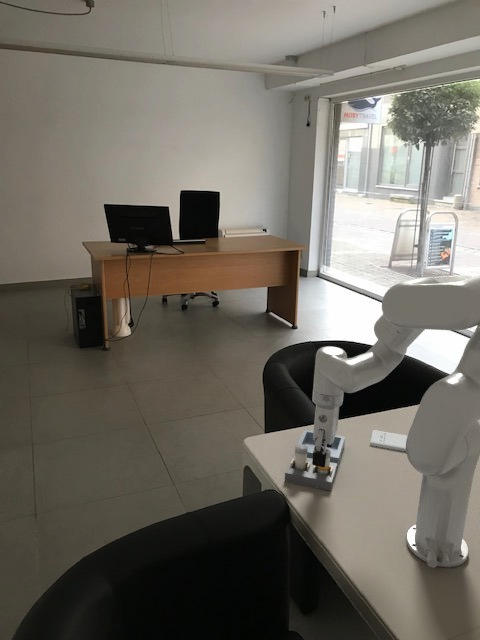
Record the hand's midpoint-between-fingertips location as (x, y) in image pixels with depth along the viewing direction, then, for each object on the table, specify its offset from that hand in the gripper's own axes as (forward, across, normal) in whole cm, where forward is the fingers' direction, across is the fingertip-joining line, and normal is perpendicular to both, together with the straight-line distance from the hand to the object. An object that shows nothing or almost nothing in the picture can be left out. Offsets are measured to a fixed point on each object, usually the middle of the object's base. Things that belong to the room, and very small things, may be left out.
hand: (322, 455), depth 136 cm
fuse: (+7, 0, +5) cm, 9 cm away
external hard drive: (+7, +25, -17) cm, 31 cm away
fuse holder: (+7, 0, +2) cm, 7 cm away
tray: (+7, +12, +2) cm, 14 cm away
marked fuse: (+7, 0, -1) cm, 7 cm away
